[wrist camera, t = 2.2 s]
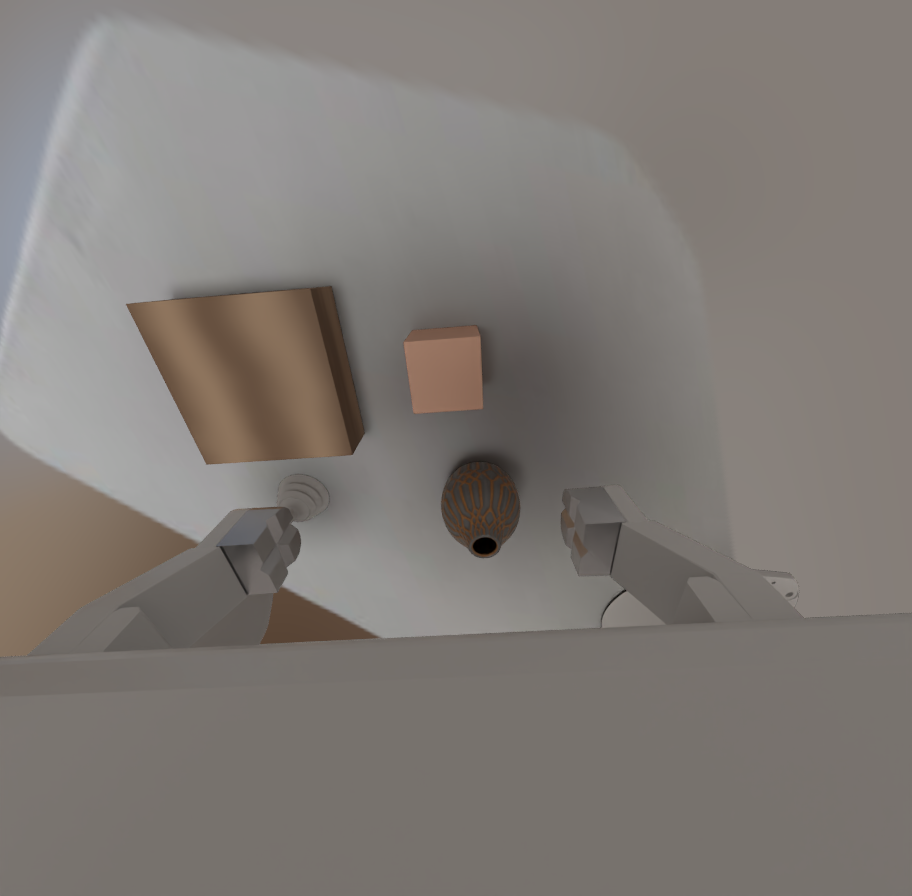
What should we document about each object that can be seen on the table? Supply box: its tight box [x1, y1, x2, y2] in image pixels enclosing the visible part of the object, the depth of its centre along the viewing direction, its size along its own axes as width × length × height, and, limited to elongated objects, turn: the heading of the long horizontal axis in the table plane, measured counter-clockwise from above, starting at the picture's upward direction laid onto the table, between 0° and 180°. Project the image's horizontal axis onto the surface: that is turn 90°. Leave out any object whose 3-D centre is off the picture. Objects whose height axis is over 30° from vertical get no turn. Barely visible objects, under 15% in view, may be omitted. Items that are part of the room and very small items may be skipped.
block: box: [403, 325, 483, 414], centre depth 25 cm, size 5×5×5 cm
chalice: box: [189, 474, 329, 648], centre depth 25 cm, size 7×7×18 cm
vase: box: [441, 462, 520, 558], centre depth 28 cm, size 7×7×9 cm
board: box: [126, 286, 365, 464], centre depth 25 cm, size 12×12×4 cm
